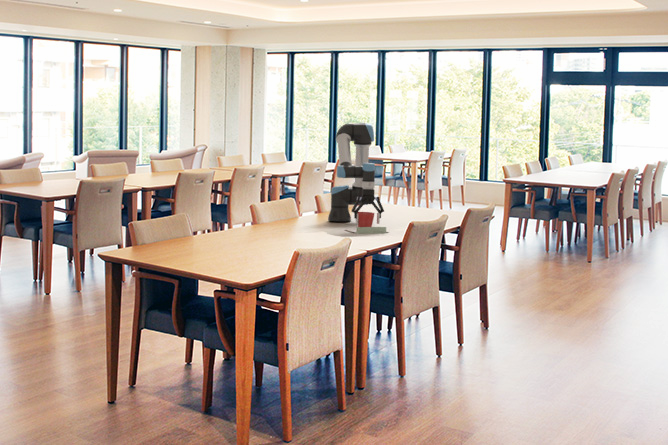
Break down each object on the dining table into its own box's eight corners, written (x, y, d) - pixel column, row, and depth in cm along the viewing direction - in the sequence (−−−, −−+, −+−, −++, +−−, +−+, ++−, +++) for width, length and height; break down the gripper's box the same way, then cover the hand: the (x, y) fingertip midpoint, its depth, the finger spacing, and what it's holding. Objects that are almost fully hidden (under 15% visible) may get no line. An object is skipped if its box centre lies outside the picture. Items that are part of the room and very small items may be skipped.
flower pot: (374, 228, 467) (375, 212, 466) (373, 229, 456) (374, 213, 455) (356, 227, 468) (357, 211, 467) (355, 228, 457) (356, 212, 456)
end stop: (356, 232, 454) (356, 227, 453) (384, 232, 459) (385, 226, 458) (357, 233, 452) (357, 227, 451) (386, 232, 457) (386, 227, 457)
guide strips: (344, 230, 469) (344, 229, 469) (378, 230, 476) (378, 229, 476) (353, 233, 452) (353, 232, 452) (388, 232, 458) (388, 232, 458)
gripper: (350, 189, 453) (349, 224, 455) (389, 189, 460) (389, 224, 462) (346, 188, 460) (346, 223, 462) (385, 188, 467) (384, 223, 469)
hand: (367, 224), depth 462 cm, fingers open, 13 cm apart
